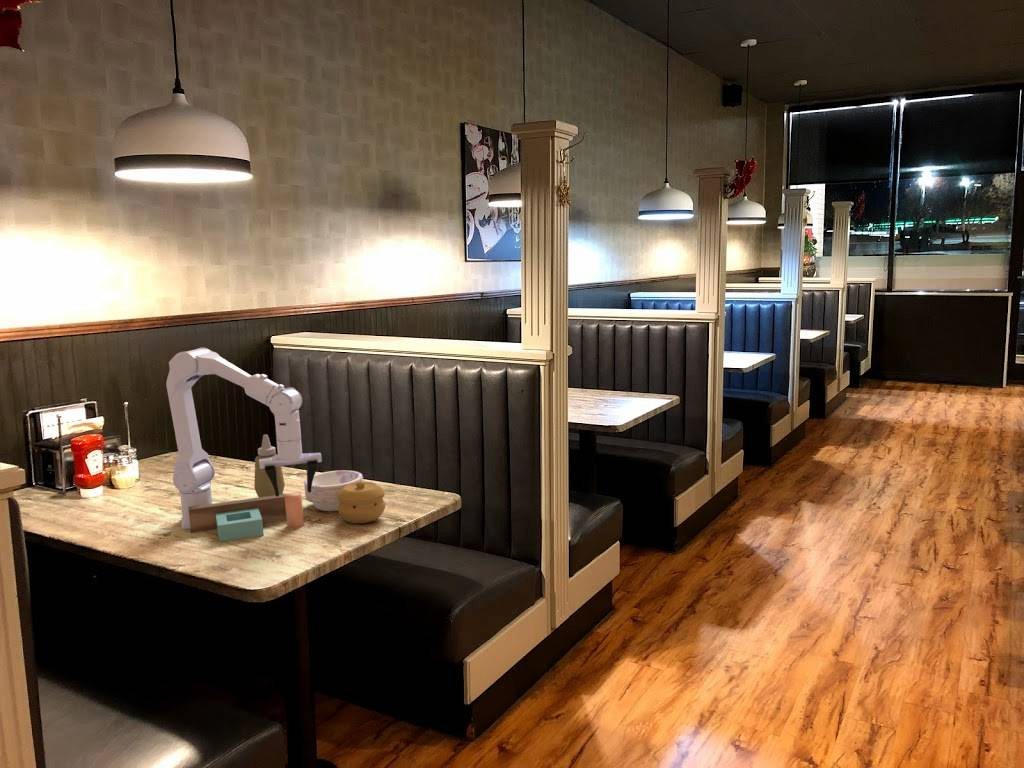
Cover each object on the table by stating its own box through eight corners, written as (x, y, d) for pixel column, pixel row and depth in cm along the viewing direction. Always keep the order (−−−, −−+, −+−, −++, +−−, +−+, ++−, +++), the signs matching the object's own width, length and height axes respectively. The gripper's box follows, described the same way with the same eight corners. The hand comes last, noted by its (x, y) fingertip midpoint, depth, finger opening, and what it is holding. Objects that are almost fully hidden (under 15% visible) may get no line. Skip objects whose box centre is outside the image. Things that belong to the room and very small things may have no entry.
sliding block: (217, 529, 205) (215, 513, 205) (259, 523, 209) (258, 507, 208) (219, 542, 196) (217, 525, 195) (263, 535, 200) (262, 519, 199)
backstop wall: (190, 530, 206) (188, 507, 205) (290, 516, 214) (289, 493, 213) (191, 533, 203) (188, 509, 202) (292, 518, 212) (290, 495, 211)
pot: (365, 510, 217) (362, 472, 216) (396, 518, 210) (394, 479, 208) (329, 522, 209) (326, 483, 207) (360, 531, 201) (357, 491, 200)
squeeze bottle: (249, 503, 227) (244, 438, 224) (265, 494, 235) (259, 431, 232) (276, 504, 225) (271, 438, 222) (291, 495, 233) (286, 432, 230)
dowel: (286, 525, 207) (283, 494, 206) (302, 522, 209) (299, 491, 208) (288, 529, 204) (285, 498, 202) (305, 527, 205) (302, 495, 204)
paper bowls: (293, 511, 218) (291, 481, 217) (331, 495, 232) (329, 467, 230) (339, 518, 211) (337, 488, 210) (376, 501, 225) (374, 472, 223)
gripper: (317, 432, 209) (321, 485, 211) (256, 439, 204) (261, 492, 206) (321, 438, 202) (325, 492, 204) (258, 445, 197) (263, 500, 200)
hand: (293, 493), depth 205 cm, fingers open, 7 cm apart
